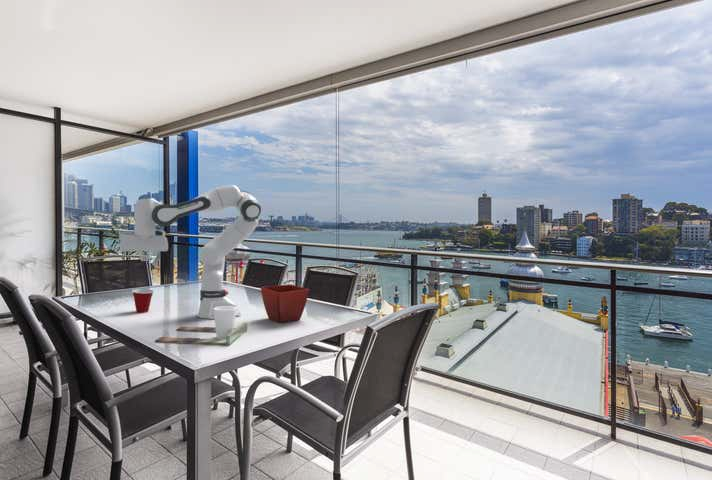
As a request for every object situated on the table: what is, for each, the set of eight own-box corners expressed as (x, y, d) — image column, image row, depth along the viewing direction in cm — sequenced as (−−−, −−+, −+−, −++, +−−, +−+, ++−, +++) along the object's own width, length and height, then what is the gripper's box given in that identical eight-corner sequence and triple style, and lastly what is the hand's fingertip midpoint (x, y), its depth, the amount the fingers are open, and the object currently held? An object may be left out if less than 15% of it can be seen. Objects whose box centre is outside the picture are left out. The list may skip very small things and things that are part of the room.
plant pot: (277, 325, 188) (277, 292, 187) (259, 318, 202) (260, 286, 201) (308, 320, 200) (309, 289, 200) (290, 313, 215) (290, 284, 214)
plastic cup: (147, 314, 202) (147, 292, 202) (127, 313, 202) (127, 291, 202) (157, 309, 213) (158, 288, 212) (139, 309, 213) (139, 288, 213)
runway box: (154, 342, 156) (155, 332, 155) (181, 328, 178) (181, 319, 177) (229, 345, 155) (230, 335, 154) (247, 330, 177) (247, 322, 176)
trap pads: (181, 341, 155) (181, 340, 155) (204, 327, 177) (204, 326, 177) (195, 341, 155) (195, 341, 155) (216, 327, 177) (216, 327, 177)
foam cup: (218, 334, 170) (219, 305, 170) (238, 334, 170) (239, 306, 169) (209, 340, 161) (210, 310, 160) (230, 341, 160) (231, 310, 160)
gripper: (118, 231, 171) (118, 261, 171) (168, 232, 180) (168, 261, 181) (119, 231, 176) (119, 260, 177) (168, 232, 186) (167, 260, 186)
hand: (144, 260), depth 179 cm, fingers closed
